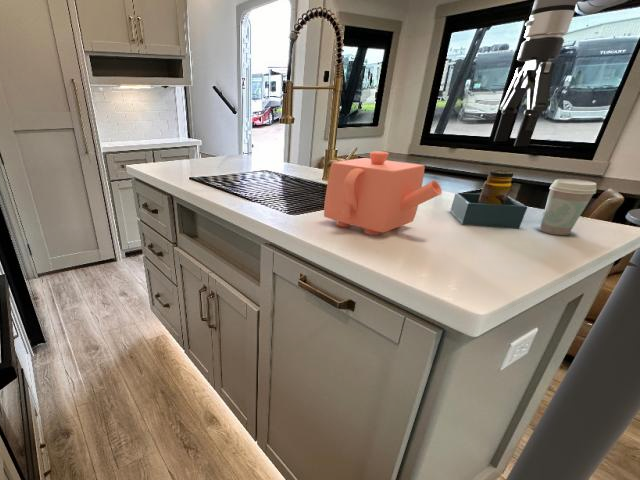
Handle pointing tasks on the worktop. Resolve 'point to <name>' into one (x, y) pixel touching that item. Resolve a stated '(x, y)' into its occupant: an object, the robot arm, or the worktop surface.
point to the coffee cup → (566, 205)
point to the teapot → (376, 192)
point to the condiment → (496, 188)
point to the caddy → (487, 211)
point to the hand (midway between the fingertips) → (509, 143)
